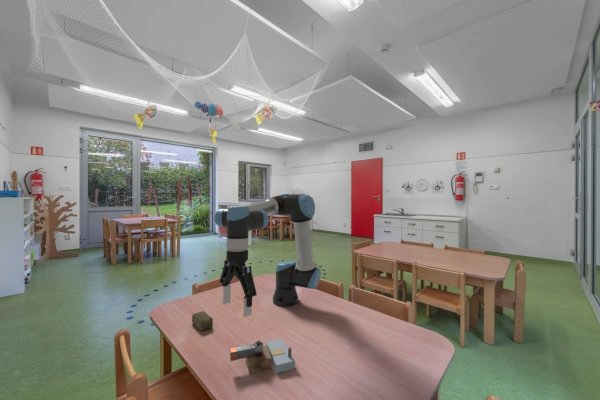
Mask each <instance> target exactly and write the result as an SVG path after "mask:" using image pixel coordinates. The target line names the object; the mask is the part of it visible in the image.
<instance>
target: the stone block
mask: <svg viewBox="0 0 600 400" xmlns="http://www.w3.org/2000/svg"><path fill="white" fill-rule="evenodd" d="M191 316H192V317H191V322H192V324H193V325H194V326H195V327H197V329H198V330H199V331H207V330H210V329H211V328H213V323H214V322H213V321H214V320H213V317H212V316H210V315H209V314H207V312H205V311H202V310H201V311H198V312H194V313H193V314H192V315H191Z"/></svg>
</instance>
